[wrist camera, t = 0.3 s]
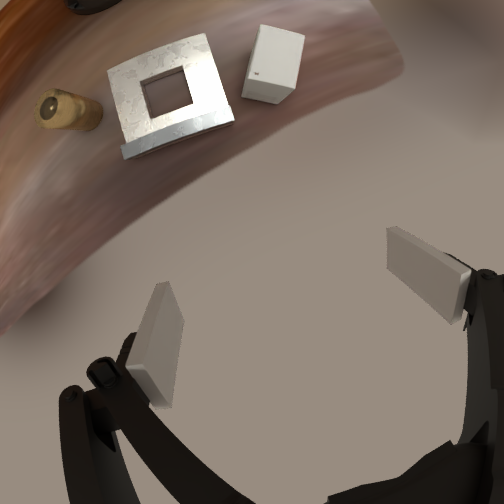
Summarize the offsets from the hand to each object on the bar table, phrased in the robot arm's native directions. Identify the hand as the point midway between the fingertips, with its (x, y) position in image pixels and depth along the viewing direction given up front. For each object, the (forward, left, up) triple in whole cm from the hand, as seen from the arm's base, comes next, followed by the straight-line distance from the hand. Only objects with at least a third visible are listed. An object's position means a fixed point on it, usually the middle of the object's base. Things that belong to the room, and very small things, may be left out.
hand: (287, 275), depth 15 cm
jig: (-18, -6, -27) cm, 33 cm away
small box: (-17, +8, -27) cm, 33 cm away
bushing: (-21, -19, -27) cm, 39 cm away
